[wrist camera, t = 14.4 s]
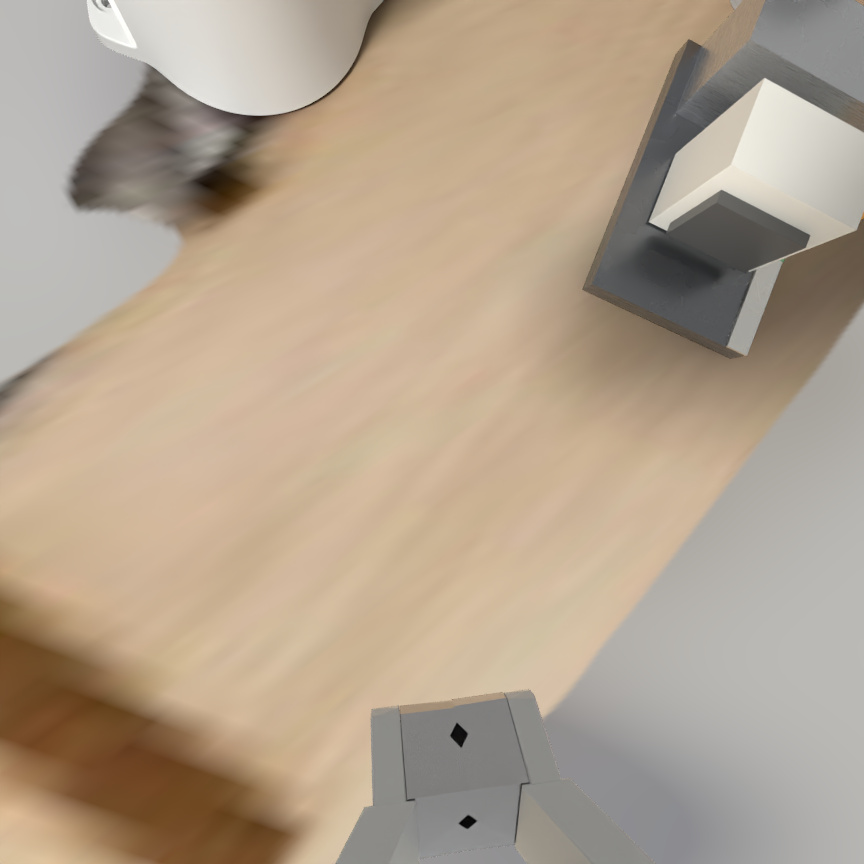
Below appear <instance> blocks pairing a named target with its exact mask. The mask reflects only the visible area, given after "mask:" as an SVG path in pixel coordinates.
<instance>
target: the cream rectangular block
mask: <svg viewBox="0 0 864 864" xmlns="http://www.w3.org/2000/svg"><path fill="white" fill-rule="evenodd" d="M861 219H864V132H862V131H860V130H858V129H856V128H855V127H853V126H851V125H849V124H847V123H846V122H844V121H842V120H840V119H838V118H837V117H835V116H833V115H831V114H829V113H827V112H826V111H824V110H822V109H820V108H818V107H817V106H815V105H813V104H811V103H809V102H808V101H806V100H804V99H802V98H800V97H799V96H797V95H795V94H793V93H791V92H789V91H788V90H786V89H784V88H782V87H780V86H779V85H777V84H775V83H773V82H771V81H770V80H768V79H766V78H764V79H763V80H762V81H760V82H759V83H758V84H757V85H756V86H755V87H753V88H752V89H751V90H750V91H749V92H747V93H746V94H745V95H744V96H743V97H742V98H740V99H739V100H738V101H737V102H736V103H735V104H733V105H732V106H731V107H730V108H729V109H728V110H726V111H725V112H724V113H723V114H722V115H721V116H719V117H718V118H717V119H716V120H715V121H713V122H712V123H711V124H710V125H709V126H708V127H706V128H705V129H704V130H703V131H702V132H701V133H699V134H698V135H697V136H696V137H695V138H694V139H692V140H691V141H690V142H689V143H688V144H687V145H685V146H684V147H683V148H682V149H681V150H680V151H678V152H677V153H676V154H675V157H674V159H673V162H672V164H671V167H670V169H669V172H668V174H667V177H666V179H665V182H664V185H663V187H662V190H661V192H660V195H659V197H658V200H657V202H656V205H655V207H654V210H653V212H652V215H651V218H650V220H649V222H650V223H652V224H654V225H656V226H658V227H660V228H662V229H664V230H666V231H667V233H666V234H667V235H669V236H671V237H673V238H675V239H677V240H679V241H681V242H683V243H685V244H687V245H689V246H691V247H693V248H695V249H697V250H699V251H701V252H703V253H705V254H707V255H709V256H711V257H713V258H715V259H717V260H719V261H721V262H723V263H726V264H728V265H730V266H732V267H734V268H736V269H738V270H740V271H742V272H746V271H749V272H751V271H754V270H756V269H759V268H761V267H764V266H766V265H769V264H772V263H774V262H777V261H779V260H782V259H784V258H787V257H789V256H792V255H795V254H797V253H800V252H802V251H805V250H807V249H810V248H813V247H815V246H818V245H820V244H823V243H825V242H828V241H830V240H833V239H836V238H838V237H841V236H843V235H846V234H848V233H851V232H853V231H856V230H857V228H858V225H859V223H860V220H861Z"/></svg>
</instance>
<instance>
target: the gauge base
mask: <svg viewBox="0 0 864 864" xmlns="http://www.w3.org/2000/svg"><path fill="white" fill-rule="evenodd" d="M764 78H766V79H768V80H770V81H771V82H773V83H775V84H777V85H779V86H780V87H782V88H784V89H786V90H788V91H789V92H791V93H793V94H795V95H797V96H799V97H800V98H802V99H804V100H806V101H808V102H809V103H811V104H813V105H815V106H817V107H818V108H820V109H822V110H824V111H826V112H827V113H829V114H831V115H833V116H835V117H837V118H838V119H840V120H842V121H844V122H846V123H847V124H849V125H851V126H853V127H855V128H856V129H858V130H860V131H862V132H864V6H863V5H862V4H860V3H858V2H857V1H855V0H743V1H742V2H741V3H740V4H739V5H738V6H737V8H736V9H735V10H734V11H733V12H732V13H731V14H730V15H729V16H728V18H727V19H726V20H725V21H724V22H723V23H722V24H721V25H720V26H719V27H718V29H717V30H716V31H715V32H714V33H713V34H712V35H711V36H710V37H709V38H708V40H707V41H706V42H705V43H704V44H703V45H702V46H700V45H699V44H697V43H695V42H693V41H691V40H688V41H687V42H686V43H685V44H684V45H683V47H682V48H681V49H680V50H679V51H678V52H677V54H676V55H675V58H674V60H673V63H672V65H671V68H670V70H669V73H668V75H667V78H666V80H665V83H664V85H663V88H662V91H661V93H660V96H659V98H658V101H657V103H656V106H655V108H654V111H653V113H652V116H651V118H650V121H649V123H648V126H647V128H646V131H645V133H644V136H643V138H642V141H641V143H640V146H639V148H638V151H637V154H636V156H635V159H634V161H633V164H632V166H631V169H630V171H629V174H628V176H627V179H626V181H625V184H624V186H623V189H622V191H621V194H620V196H619V199H618V201H617V204H616V206H615V209H614V211H613V214H612V217H611V219H610V222H609V224H608V227H607V229H606V232H605V234H604V237H603V239H602V242H601V244H600V247H599V249H598V252H597V254H596V257H595V259H594V262H593V264H592V267H591V269H590V272H589V274H588V277H587V280H586V282H585V285H584V287H583V290H584V291H587V292H589V293H591V294H593V295H595V296H597V297H599V298H602V299H604V300H606V301H608V302H610V303H612V304H614V305H617V306H619V307H621V308H623V309H625V310H627V311H629V312H632V313H634V314H636V315H638V316H640V317H642V318H644V319H647V320H649V321H651V322H653V323H655V324H657V325H659V326H662V327H664V328H666V329H668V330H670V331H672V332H674V333H677V334H679V335H681V336H683V337H685V338H687V339H689V340H692V341H694V342H696V343H698V344H700V345H702V346H704V347H707V348H709V349H711V350H713V351H715V352H717V353H719V354H722V355H724V356H726V357H728V358H736V357H741V356H747V354H748V352H749V349H750V346H751V344H752V341H753V339H754V336H755V333H756V331H757V328H758V325H759V323H760V320H761V318H762V315H763V312H764V310H765V307H766V304H767V302H768V299H769V297H770V294H771V291H772V289H773V286H774V283H775V281H776V278H777V276H778V273H779V270H780V268H781V265H782V263H783V262H784V260H785V258H784V259H782V260H779V261H777V262H774V263H772V264H769V265H766V266H764V267H761V268H759V269H756V270H754V271H751V272H749V271H746V272H742V271H740V270H738V269H736V268H734V267H732V266H730V265H728V264H726V263H723V262H721V261H719V260H717V259H715V258H713V257H711V256H709V255H707V254H705V253H703V252H701V251H699V250H697V249H695V248H693V247H691V246H689V245H687V244H685V243H683V242H681V241H679V240H677V239H675V238H673V237H671V236H669V235H667V234H666V233H667V231H666V230H664V229H662V228H660V227H658V226H656V225H654V224H652V223H650V222H649V220H650V218H651V215H652V212H653V210H654V207H655V205H656V202H657V200H658V197H659V195H660V192H661V190H662V187H663V185H664V182H665V179H666V177H667V174H668V172H669V169H670V167H671V164H672V162H673V159H674V157H675V154H676V153H677V152H678V151H680V150H681V149H682V148H683V147H684V146H685V145H687V144H688V143H689V142H690V141H691V140H692V139H694V138H695V137H696V136H697V135H698V134H699V133H701V132H702V131H703V130H704V129H705V128H706V127H708V126H709V125H710V124H711V123H712V122H713V121H715V120H716V119H717V118H718V117H719V116H721V115H722V114H723V113H724V112H725V111H726V110H728V109H729V108H730V107H731V106H732V105H733V104H735V103H736V102H737V101H738V100H739V99H740V98H742V97H743V96H744V95H745V94H746V93H747V92H749V91H750V90H751V89H752V88H753V87H755V86H756V85H757V84H758V83H759V82H760V81H762V80H763V79H764Z"/></svg>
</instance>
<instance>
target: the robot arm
mask: <svg viewBox="0 0 864 864" xmlns="http://www.w3.org/2000/svg"><path fill="white" fill-rule="evenodd" d="M383 1H384V0H87V7H88V14H89V20H90V23H91V26H92V27H93V29H94V32H95V34H96V36H97V38H98V39H99V40H100V42H101V43H102V44H103V45H105V46H106V47H108V48H109V49H111V50H113V51H115V52H118V53H120V54H122V55H125V56H128V57H131V58H134V59H137V60H140V61H143V62H146V63H148V64H149V65H151V66H152V67H154V68H155V69H157V70H158V71H159V72H160V73H162V74H163V75H164V76H165V77H166V78H167V79H169V80H170V81H171V82H172V83H173V84H175V85H176V86H177V87H178V88H180V89H181V90H182V91H184V92H185V93H187V94H188V95H190V96H192V97H193V98H195V99H197V100H199V101H201V102H203V103H205V104H207V105H210V106H212V107H215V108H218V109H221V110H224V111H228V112H232V113H237V114H243V115H259V116H262V115H275V114H281V113H286V112H290V111H293V110H296V109H299V108H302V107H304V106H306V105H309V104H311V103H313V102H314V101H316V100H318V99H319V98H321V97H322V96H324V95H325V94H327V93H328V92H329V91H330V90H331V89H333V88H334V87H335V86H336V85H337V84H338V83H339V82H340V81H341V80H342V78H343V77H344V76H345V75H346V73H347V72H348V70H349V69H350V67H351V66H352V64H353V62H354V61H355V59H356V57H357V54H358V52H359V50H360V47H361V44H362V41H363V37H364V34H365V30H366V27H367V24H368V21H369V19H370V16H371V14H372V13H373V12H374V11H375V9H376V8H377V7H378V6H379V5H380V4H381V3H382V2H383ZM109 3H110V5H111V7H112V8H107V5H108V4H109ZM400 723H401V725H400ZM371 750H372V789H373V806H369V807H364V809H363V811H362V813H361V815H360V817H359V819H358V821H357V823H356V825H355V827H354V829H353V831H352V833H351V834H350V836H349V838H348V840H347V842H346V844H345V846H344V848H343V850H342V852H341V854H340V856H339V858H338V860H337V862H336V864H419V859H424V858H429V857H435V856H441V855H446V854H451V853H457V852H462V851H467V850H476V849H485V848H493V847H501V846H510V845H515V848H516V850H517V851H518V852H519V853H520V855H521V856H522V858H523V859H524V860H525V862H526V863H527V864H656V863H655V862H654V861H653V860H652V859H651V858H650V857H649V856H648V855H647V854H646V853H645V852H644V851H643V850H642V849H641V848H640V847H639V846H638V845H637V844H636V843H635V842H634V841H633V840H632V839H631V838H630V837H629V836H628V835H627V834H626V833H625V832H624V831H623V830H622V829H621V828H620V827H619V826H618V825H617V824H616V823H615V822H614V821H613V820H612V819H611V818H610V817H609V816H607V815H606V813H605V812H603V811H602V810H601V808H599V807H598V806H597V805H596V804H595V803H594V802H593V801H592V800H591V799H590V798H589V797H588V796H587V795H586V794H585V793H584V792H583V791H582V790H581V789H580V788H579V787H578V786H577V785H576V784H575V783H574V782H573V781H572V780H571V779H570V778H569V779H562V778H561V775H560V772H559V769H558V766H557V763H556V760H555V757H554V754H553V751H552V748H551V745H550V742H549V739H548V736H547V733H546V730H545V727H544V723H543V720H542V717H541V714H540V711H539V708H538V705H537V702H536V699H535V696H534V694H533V693H532V692H531V690H529V689H528V690H521V691H514V692H507V693H503V692H500V693H493V694H486V695H479V696H472V697H465V698H458V699H452V700H449V701H440V702H431V703H422V704H413V705H404V706H400V713H399V706H392V707H384V708H376V709H372V711H371Z"/></svg>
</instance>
